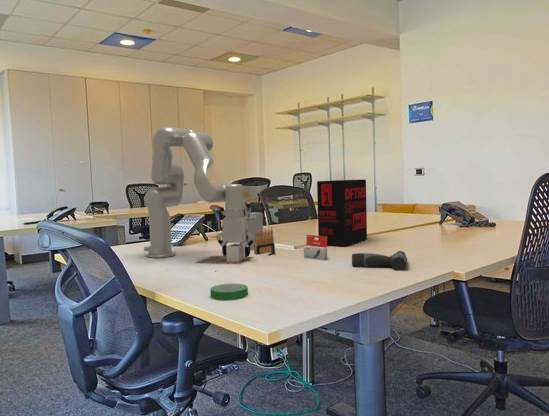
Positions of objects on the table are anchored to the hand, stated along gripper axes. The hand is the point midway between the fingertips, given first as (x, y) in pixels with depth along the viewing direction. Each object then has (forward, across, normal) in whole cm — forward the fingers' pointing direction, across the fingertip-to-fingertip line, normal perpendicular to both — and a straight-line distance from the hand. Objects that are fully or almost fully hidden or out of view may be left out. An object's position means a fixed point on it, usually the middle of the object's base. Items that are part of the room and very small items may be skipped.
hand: (236, 256), depth 186 cm
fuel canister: (+3, -7, +36) cm, 37 cm away
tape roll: (+3, +17, -48) cm, 51 cm away
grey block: (+2, 0, 0) cm, 2 cm away
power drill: (+4, +57, +4) cm, 57 cm away
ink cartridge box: (+3, +30, +14) cm, 33 cm away
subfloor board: (+3, -5, 0) cm, 6 cm away
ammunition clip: (+3, +6, +19) cm, 20 cm away
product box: (+3, +35, +60) cm, 70 cm away
